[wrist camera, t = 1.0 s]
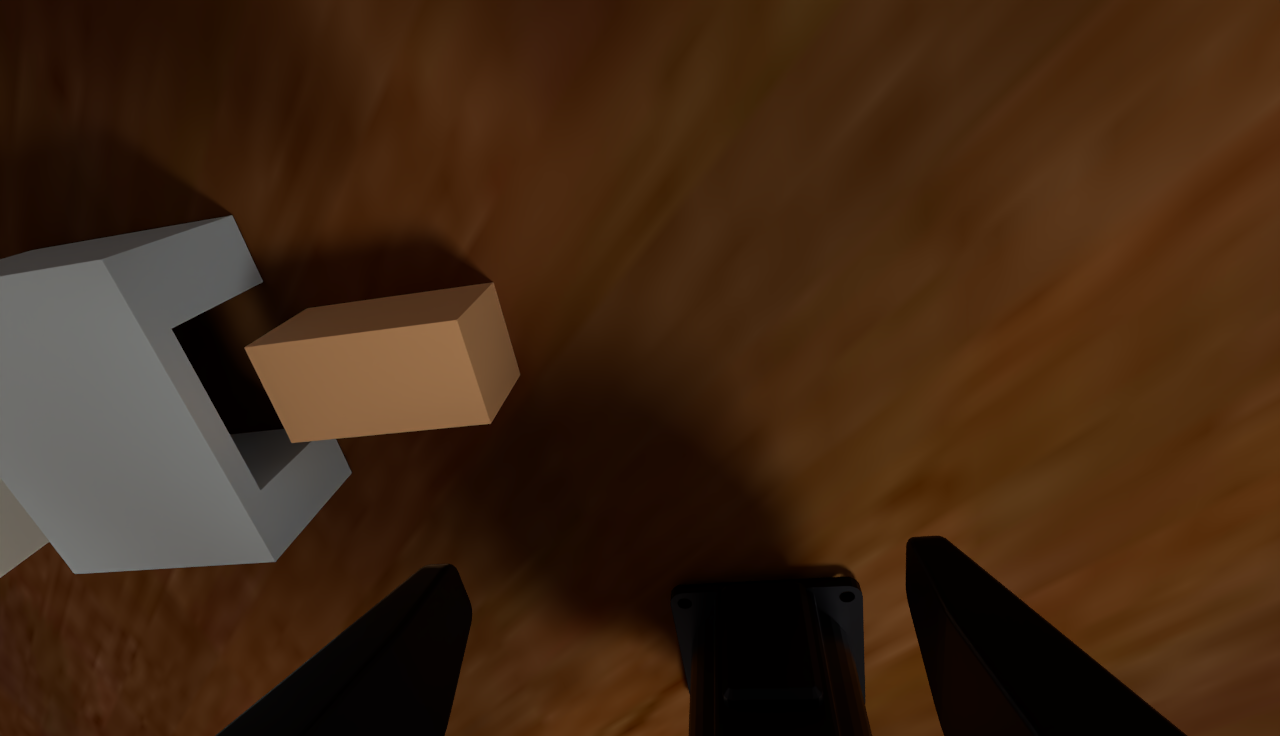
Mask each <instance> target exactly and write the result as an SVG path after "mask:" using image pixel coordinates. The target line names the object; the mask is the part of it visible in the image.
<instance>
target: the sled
mask: <svg viewBox="0 0 1280 736" xmlns="http://www.w3.org/2000/svg"><path fill="white" fill-rule="evenodd" d="M262 282H263V280H262V278H261V276H260V274H259V272H258V270H257V267H256V265H255V263H254V261H253V259H252V257H251V255H250V252H249V250H248V248H247V246H246V244H245V242H244V239H243V237H242V235H241V233H240V231H239V229H238V227H237V224H236V222H235V220H234V218H233V216H232V215H230V216H225V217H219V218H213V219H208V220H202V221H196V222H190V223H185V224H179V225H173V226H167V227H162V228H156V229H150V230H144V231H139V232H133V233H127V234H122V235H116V236H110V237H104V238H99V239H93V240H87V241H81V242H76V243H70V244H64V245H58V246H53V247H47V248H41V249H36V250H31V251H27V252H24V253H20V254H17V255H14V256H10V257H7V258H3V259H0V478H1V479H2V480H3V482H4V483H5V484H6V486H7V487H8V488H9V490H10V491H11V492H12V493H13V495H14V496H15V497H16V499H17V500H18V501H19V503H20V504H21V505H22V506H23V508H24V509H25V510H26V512H27V513H28V514H29V515H30V517H31V518H32V519H33V521H34V522H35V523H36V525H37V526H38V527H39V528H40V530H41V531H42V532H43V534H44V535H45V536H46V538H47V539H48V540H49V541H50V543H51V544H52V545H53V547H54V548H55V549H56V550H57V552H58V553H59V554H60V556H61V557H62V558H63V560H64V561H65V562H66V563H67V565H68V566H69V567H70V569H71V570H72V571H73V573H74V574H84V573H100V572H117V571H133V570H149V569H166V568H182V567H199V566H215V565H232V564H248V563H264V562H276V561H277V559H278V558H279V557H280V556H281V555H282V554H283V552H284V551H285V550H286V549H287V548H288V547H289V545H290V544H291V543H292V542H293V541H294V540H295V539H296V537H297V536H298V535H299V534H300V533H301V532H302V530H303V529H304V528H305V527H306V526H307V525H308V523H309V522H310V521H311V520H312V519H313V518H314V516H315V515H316V514H317V513H318V512H319V511H320V509H321V508H322V507H323V506H324V505H325V504H326V503H327V501H328V500H329V499H330V498H331V497H332V496H333V494H334V493H335V492H336V491H337V490H338V489H339V487H340V486H341V485H342V484H343V483H344V482H345V480H346V479H347V478H348V477H349V476H350V475H351V473H352V472H351V470H350V468H349V466H348V464H347V461H346V459H345V457H344V455H343V453H342V451H341V449H340V446H339V444H338V442H337V440H336V439H329V440H319V441H309V442H298V443H291V441H290V439H289V437H288V435H287V433H286V431H285V429H278V430H268V431H259V432H249V433H239V434H229V432H228V431H227V429H226V427H225V425H224V423H223V421H222V420H221V418H220V416H219V414H218V412H217V411H216V409H215V407H214V405H213V403H212V401H211V400H210V398H209V396H208V394H207V392H206V391H205V389H204V387H203V385H202V383H201V382H200V380H199V378H198V376H197V374H196V372H195V371H194V369H193V367H192V365H191V363H190V362H189V360H188V358H187V356H186V354H185V353H184V351H183V349H182V347H181V345H180V343H179V342H178V340H177V338H176V336H175V334H174V333H173V331H172V328H174V327H176V326H178V325H180V324H182V323H184V322H186V321H188V320H190V319H192V318H194V317H195V316H197V315H199V314H201V313H203V312H205V311H207V310H209V309H211V308H213V307H215V306H217V305H219V304H221V303H223V302H225V301H227V300H229V299H231V298H233V297H235V296H237V295H239V294H241V293H243V292H245V291H246V290H248V289H250V288H252V287H254V286H256V285H258V284H260V283H262Z"/></svg>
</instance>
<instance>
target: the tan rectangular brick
mask: <svg viewBox="0 0 1280 736" xmlns="http://www.w3.org/2000/svg"><path fill="white" fill-rule="evenodd" d="M244 348H245V350H246V352H247V354H248V356H249V358H250V360H251V362H252V364H253V366H254V368H255V370H256V372H257V374H258V376H259V378H260V380H261V382H262V384H263V387H264V389H265V391H266V393H267V395H268V397H269V399H270V401H271V403H272V405H273V407H274V409H275V411H276V413H277V415H278V417H279V419H280V421H281V423H282V425H283V427H284V429H285V431H286V433H287V435H288V437H289V439H290V441H291V443H298V442H309V441H319V440H329V439H339V438H350V437H360V436H370V435H380V434H390V433H401V432H411V431H421V430H431V429H442V428H452V427H462V426H472V425H483V424H491V423H492V421H493V419H494V418H495V416H496V414H497V413H498V411H499V409H500V408H501V406H502V404H503V403H504V401H505V399H506V398H507V396H508V394H509V393H510V391H511V390H512V388H513V386H514V385H515V383H516V381H517V380H518V378H519V376H520V372H519V368H518V365H517V361H516V358H515V355H514V351H513V348H512V344H511V341H510V337H509V334H508V331H507V327H506V324H505V320H504V317H503V314H502V310H501V307H500V303H499V300H498V296H497V293H496V290H495V286H494V283H493V282H491V283H484V284H477V285H470V286H463V287H456V288H448V289H441V290H434V291H427V292H420V293H413V294H405V295H398V296H391V297H384V298H377V299H370V300H362V301H355V302H348V303H341V304H334V305H327V306H319V307H312V308H307V309H305V310H303V311H302V312H300V313H299V314H297V315H295V316H294V317H292V318H291V319H289V320H287V321H286V322H284V323H283V324H281V325H279V326H278V327H276V328H275V329H273V330H271V331H270V332H268V333H267V334H265V335H263V336H262V337H260V338H259V339H257V340H255V341H254V342H252V343H251V344H249V345H247V346H246V347H244Z"/></svg>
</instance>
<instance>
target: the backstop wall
mask: <svg viewBox="0 0 1280 736" xmlns="http://www.w3.org/2000/svg"><path fill="white" fill-rule="evenodd" d="M48 542H50V541H49V540H48V539H47V538H46V536H45V535H44V534H43V532H42V531H41V530H40V528H39V527H38V526H37V525H36V523H35V522H34V521H33V519H32V518H31V517H30V515H29V514H28V513H27V512H26V510H25V509H24V508H23V506H22V505H21V504H20V503H19V501H18V500H17V499H16V497H15V496H14V495H13V493H12V492H11V491H10V490H9V488H8V487H7V486H6V484H5V483H4V482H3V480H2V479H1V478H0V578H1V577H2V576H3V575H5V574H6V573H7V572H9V571H10V570H11V569H13V568H14V567H16V566H17V565H18V564H20V563H21V562H22V561H24V560H25V559H26V558H28V557H29V556H31V555H32V554H33V553H35V552H36V551H37V550H39V549H40V548H41V547H43V546H44V545H45V544H47V543H48Z"/></svg>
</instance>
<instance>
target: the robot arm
mask: <svg viewBox="0 0 1280 736" xmlns="http://www.w3.org/2000/svg"><path fill="white" fill-rule="evenodd" d="M846 591H849V592H848V593H843V592H846ZM906 593H907V599H908V604H909V608H910V612H911V616H912V620H913V623H914V627H915V631H916V635H917V639H918V643H919V646H920V650H921V654H922V658H923V662H924V666H925V669H926V673H927V677H928V681H929V685H930V689H931V692H932V696H933V700H934V704H935V707H936V711H937V714H938V718H939V721H940V725H941V728H942V730H943V733H944V736H1187V735H1186V734H1184V733H1183V732H1182V731H1181V730H1180V729H1178V728H1177V727H1176V726H1175V725H1173V724H1172V723H1171V722H1170V721H1169V720H1167V719H1166V718H1165V717H1164V716H1162V715H1161V714H1160V713H1159V712H1158V711H1156V710H1155V709H1154V708H1153V707H1151V706H1150V705H1149V704H1148V703H1147V702H1145V701H1144V700H1143V699H1142V698H1140V697H1139V696H1138V695H1137V694H1136V693H1134V692H1133V691H1132V690H1131V689H1129V688H1128V687H1127V686H1126V685H1124V684H1123V683H1122V682H1121V681H1120V680H1118V679H1117V678H1116V677H1115V676H1113V675H1112V674H1111V673H1110V672H1109V671H1107V670H1106V669H1105V668H1104V667H1102V666H1101V665H1100V664H1099V663H1098V662H1096V661H1095V660H1094V659H1093V658H1091V657H1090V656H1089V655H1088V654H1087V653H1085V652H1084V651H1083V650H1082V649H1080V648H1079V647H1078V646H1077V645H1076V644H1074V643H1073V642H1072V641H1071V640H1069V639H1068V638H1067V637H1066V636H1065V635H1063V634H1062V633H1061V632H1060V631H1058V630H1057V629H1056V628H1055V627H1054V626H1052V625H1051V624H1050V623H1049V622H1047V621H1046V620H1045V619H1044V618H1043V617H1041V616H1040V615H1039V614H1038V613H1036V612H1035V611H1034V610H1033V609H1032V608H1030V607H1029V606H1028V605H1027V604H1025V603H1024V602H1023V601H1022V600H1021V599H1019V598H1018V597H1017V596H1016V595H1014V594H1013V593H1012V592H1011V591H1010V590H1008V589H1007V588H1006V587H1005V586H1003V585H1002V584H1001V583H1000V582H999V581H997V580H996V579H995V578H994V577H992V576H991V575H990V574H989V573H988V572H986V571H985V570H984V569H983V568H981V567H980V566H979V565H978V564H977V563H975V562H974V561H973V560H972V559H970V558H969V557H968V556H967V555H965V554H964V553H963V552H962V551H961V550H959V549H958V548H957V547H956V546H954V545H953V544H952V543H951V542H950V541H948V540H947V539H946V538H944V537H941V536H923V537H912V538H910V539H909V540H908V542H907V545H906ZM683 598H685V599H689V600H682V599H683ZM671 608H672V613H673V618H674V622H675V627H676V632H677V636H678V641H679V646H680V651H681V655H682V660H683V665H684V669H685V674H686V679H687V684H688V688H689V693H690V714H689V736H872V734H871V729H870V725H869V721H868V716H867V712H866V708H865V672H864V631H863V596H862V592H861V588H860V585H859V583H858V582H857V581H856V580H855V579H853V578H850V577H832V578H811V579H790V580H769V581H748V582H727V583H705V584H684V585H678V586H677V587H675V588H674V589H673V590H672V593H671ZM471 621H472V607H471V603H470V600H469V598H468V595H467V593H466V590H465V588H464V585H463V583H462V580H461V578H460V575H459V573H458V571H457V569H456V567H455V566H453V565H452V564H432V565H426V566H424V567H422V568H421V569H419V570H418V571H417V572H416V573H414V574H413V575H412V576H411V577H409V578H408V579H407V580H406V581H405V582H403V583H402V584H401V585H400V586H398V587H397V588H396V589H395V590H394V591H392V592H391V593H390V594H389V595H387V596H386V597H385V598H384V599H382V600H381V601H380V602H379V603H378V604H376V605H375V606H374V607H373V608H371V609H370V610H369V611H368V612H367V613H365V614H364V615H363V616H362V617H360V618H359V619H358V620H357V621H356V622H354V623H353V624H352V625H351V626H349V627H348V628H347V629H346V630H344V631H343V632H342V633H341V634H340V635H338V636H337V637H336V638H335V639H333V640H332V641H331V642H330V643H329V644H327V645H326V646H325V647H324V648H322V649H321V650H320V651H319V652H317V653H316V654H315V655H314V656H313V657H311V658H310V659H309V660H308V661H306V662H305V663H304V664H303V665H302V666H300V667H299V668H298V669H297V670H295V671H294V672H293V673H292V674H291V675H289V676H288V677H287V678H286V679H284V680H283V681H282V682H281V683H279V684H278V685H277V686H276V687H275V688H273V689H272V690H271V691H270V692H268V693H267V694H266V695H265V696H263V697H262V698H261V699H260V700H259V701H257V702H256V703H255V704H254V705H252V706H251V707H250V708H249V709H248V710H246V711H245V712H244V713H243V714H241V715H240V716H239V717H238V718H236V719H235V720H234V721H233V722H232V723H230V724H229V725H228V726H227V727H225V728H224V729H223V730H222V731H221V732H219V733H218V734H217V735H216V736H444V735H445V732H446V729H447V725H448V721H449V717H450V713H451V709H452V705H453V701H454V696H455V692H456V687H457V683H458V679H459V674H460V670H461V665H462V661H463V657H464V652H465V648H466V643H467V639H468V635H469V630H470V626H471Z"/></svg>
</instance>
